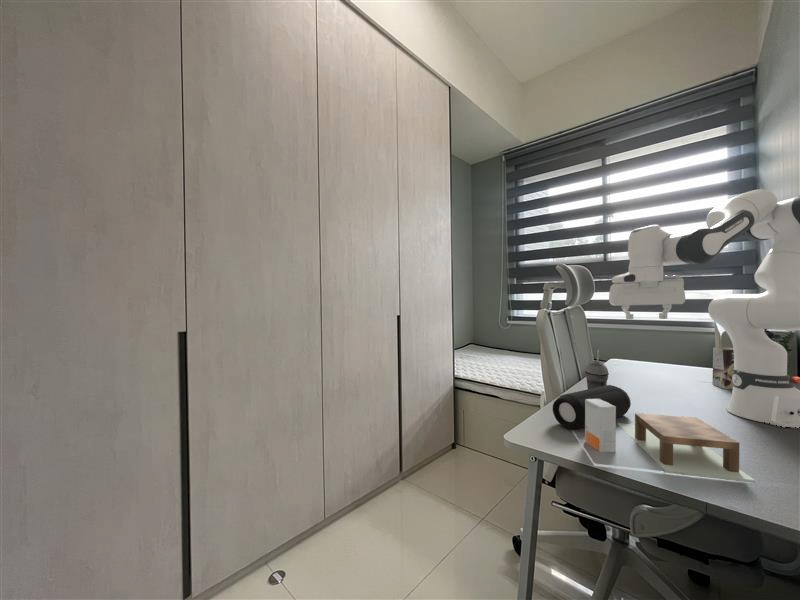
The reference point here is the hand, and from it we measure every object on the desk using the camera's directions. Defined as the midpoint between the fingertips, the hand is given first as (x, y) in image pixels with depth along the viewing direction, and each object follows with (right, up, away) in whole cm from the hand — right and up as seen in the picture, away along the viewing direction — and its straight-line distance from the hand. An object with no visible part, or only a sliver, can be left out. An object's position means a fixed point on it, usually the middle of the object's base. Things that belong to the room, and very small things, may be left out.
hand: (646, 319), depth 101 cm
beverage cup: (-10, -32, +10) cm, 34 cm away
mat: (-10, -32, -21) cm, 40 cm away
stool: (-9, -28, -18) cm, 34 cm away
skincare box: (-28, -33, -21) cm, 48 cm away
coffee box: (+57, -30, +27) cm, 70 cm away
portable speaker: (-20, -32, -4) cm, 38 cm away
